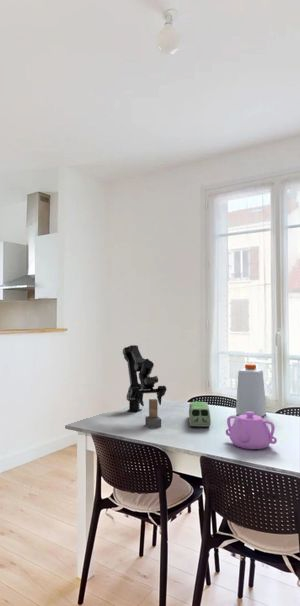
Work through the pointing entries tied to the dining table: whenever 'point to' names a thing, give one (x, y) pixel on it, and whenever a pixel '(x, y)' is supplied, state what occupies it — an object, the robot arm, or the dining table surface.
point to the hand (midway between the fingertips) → (151, 405)
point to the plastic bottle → (250, 391)
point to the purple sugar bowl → (250, 431)
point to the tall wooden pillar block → (153, 415)
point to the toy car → (199, 414)
